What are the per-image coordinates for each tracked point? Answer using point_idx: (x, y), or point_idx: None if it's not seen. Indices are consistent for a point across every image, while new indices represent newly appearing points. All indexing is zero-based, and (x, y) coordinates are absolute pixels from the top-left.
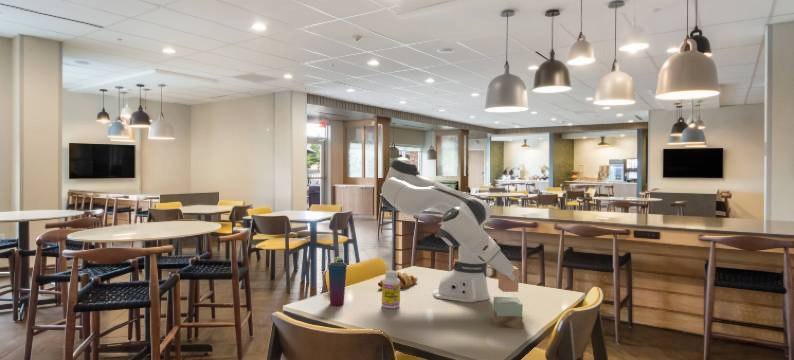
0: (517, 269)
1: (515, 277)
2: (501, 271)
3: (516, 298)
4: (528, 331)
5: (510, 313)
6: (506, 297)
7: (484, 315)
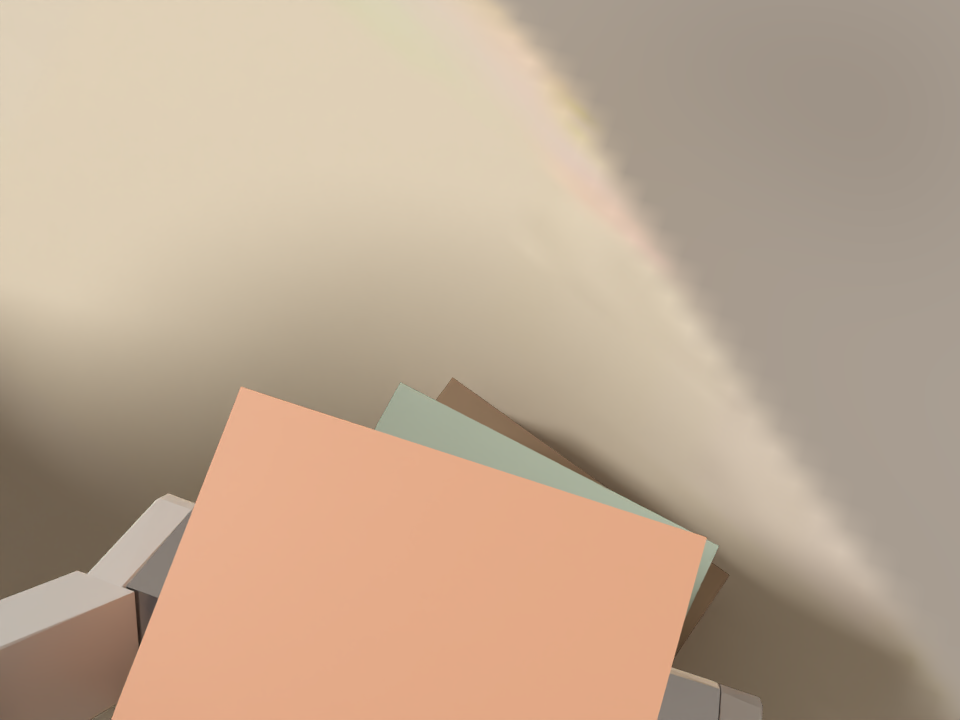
0: (690, 577)
1: (753, 711)
2: None
3: (438, 430)
4: (792, 564)
5: None
6: None
7: None
